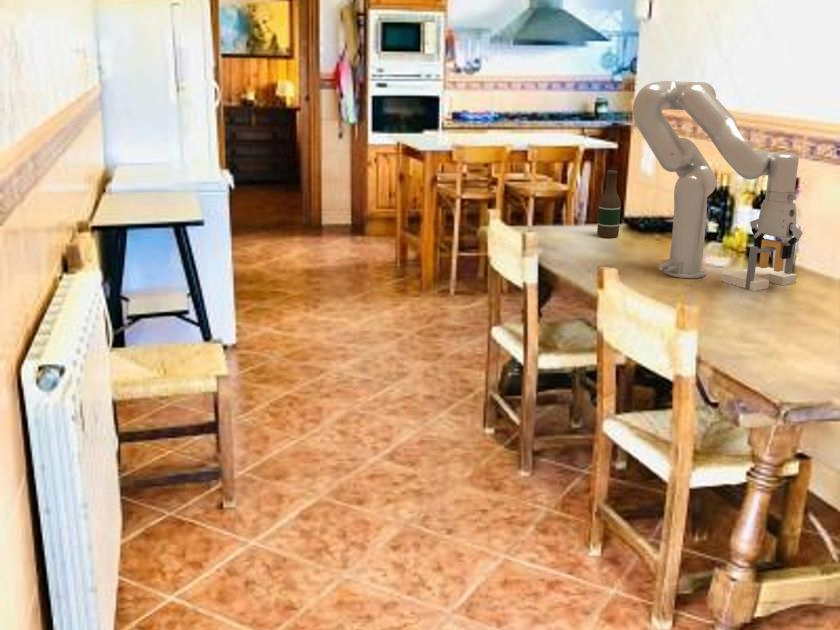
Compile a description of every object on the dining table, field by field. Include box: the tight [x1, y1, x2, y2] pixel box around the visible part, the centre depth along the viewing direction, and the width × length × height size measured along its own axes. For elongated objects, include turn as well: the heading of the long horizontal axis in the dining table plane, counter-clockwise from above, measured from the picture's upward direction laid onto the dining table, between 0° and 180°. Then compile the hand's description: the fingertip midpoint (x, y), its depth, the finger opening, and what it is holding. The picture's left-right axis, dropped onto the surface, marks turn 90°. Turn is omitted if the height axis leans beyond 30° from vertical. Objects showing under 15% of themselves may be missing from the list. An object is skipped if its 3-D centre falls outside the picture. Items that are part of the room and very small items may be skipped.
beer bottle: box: [596, 169, 622, 240], centre depth 318 cm, size 8×8×24 cm
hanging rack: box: [721, 242, 798, 292], centre depth 262 cm, size 18×12×12 cm, turn 120°
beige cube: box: [772, 247, 798, 271], centre depth 277 cm, size 7×7×7 cm
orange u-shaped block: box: [758, 238, 785, 272], centre depth 259 cm, size 2×7×8 cm, turn 30°
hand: (772, 254), depth 259 cm, fingers open, 9 cm apart
